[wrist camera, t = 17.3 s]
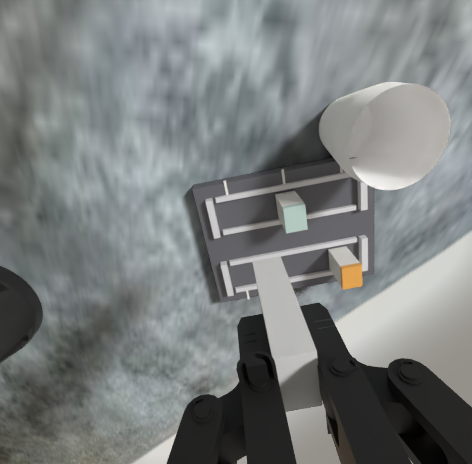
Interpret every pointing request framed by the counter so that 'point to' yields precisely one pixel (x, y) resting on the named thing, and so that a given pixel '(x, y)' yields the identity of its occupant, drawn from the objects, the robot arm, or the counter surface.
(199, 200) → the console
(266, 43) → the counter surface
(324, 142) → the cup
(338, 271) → the fader
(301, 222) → the block
